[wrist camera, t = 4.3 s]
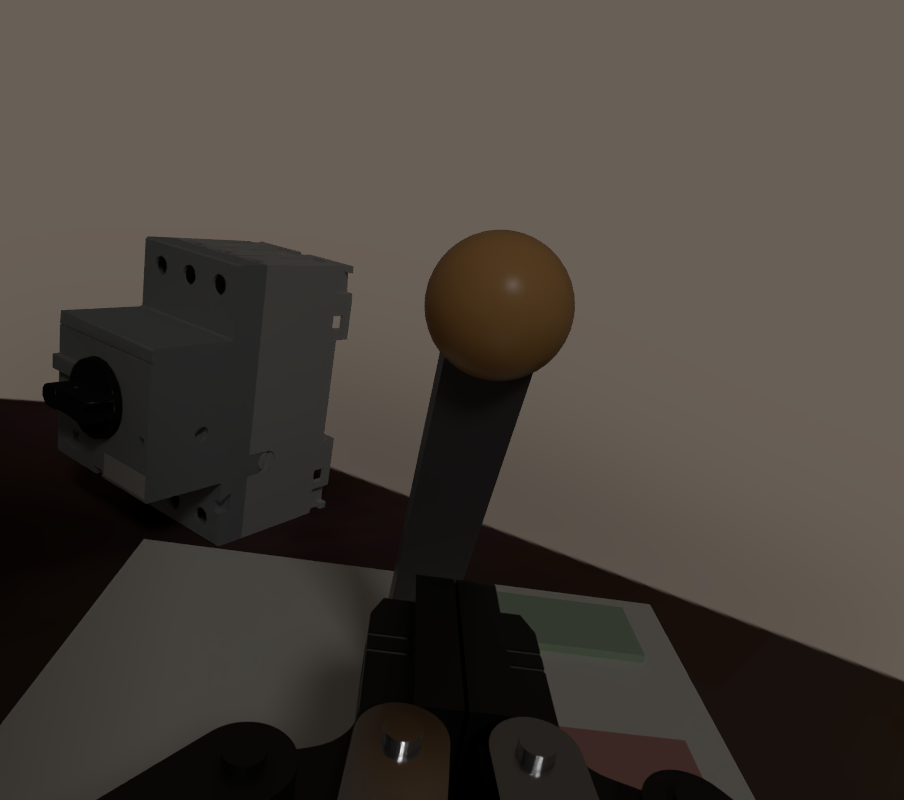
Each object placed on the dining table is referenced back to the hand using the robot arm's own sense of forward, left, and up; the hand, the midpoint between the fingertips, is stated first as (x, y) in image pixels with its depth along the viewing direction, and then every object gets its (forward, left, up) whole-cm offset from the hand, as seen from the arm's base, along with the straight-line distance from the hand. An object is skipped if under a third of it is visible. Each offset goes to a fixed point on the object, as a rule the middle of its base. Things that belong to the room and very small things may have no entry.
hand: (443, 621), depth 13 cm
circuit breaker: (-21, +20, -13) cm, 32 cm away
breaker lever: (-3, +7, -7) cm, 10 cm away
